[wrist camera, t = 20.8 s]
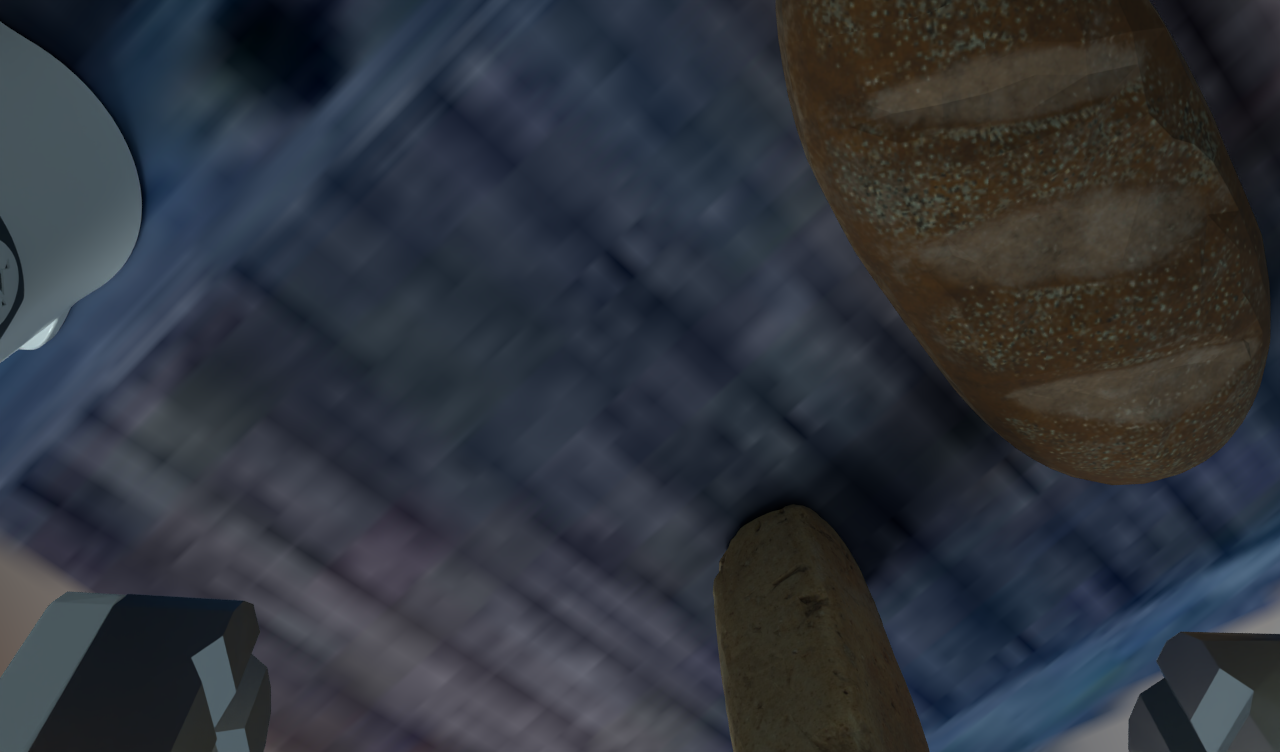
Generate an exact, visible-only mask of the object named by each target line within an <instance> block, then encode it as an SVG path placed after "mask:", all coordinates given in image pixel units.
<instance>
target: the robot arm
mask: <svg viewBox="0 0 1280 752" xmlns="http://www.w3.org/2000/svg"><path fill="white" fill-rule="evenodd" d="M141 215H142V198H141V189H140V183H139V178H138V174H137V170H136V167H135V164H134V161H133V158H132V155H131V153H130V150H129V148H128V146H127V144H126V142H125V139H124V137H123V135H122V134H121V132H120V130H119V128H118V127H117V125H116V123H115V122H114V120H113V119H112V117H111V116H110V114H109V113H108V111H107V110H106V109H105V107H104V106H103V105H102V103H101V102H100V101H99V100H98V98H97V97H96V96H95V95H94V94H93V92H92V91H91V90H90V89H89V88H88V87H87V86H86V85H85V84H84V83H83V82H82V81H81V80H80V79H79V78H78V77H77V76H76V75H75V74H74V73H73V72H72V71H71V70H69V69H68V68H67V67H66V66H65V65H64V64H62V63H61V62H60V61H59V60H57V59H56V58H55V57H53V56H52V55H51V54H49V53H48V52H46V51H45V50H43V49H42V48H41V47H39V46H37V45H36V44H34V43H33V42H31V41H29V40H28V39H26V38H25V37H23V36H21V35H20V34H18V33H16V32H15V31H13V30H12V29H10V28H9V27H7V26H6V25H4V24H3V23H1V22H0V363H1V362H2V361H3V360H5V359H6V358H7V357H9V356H10V355H11V354H12V353H14V352H15V351H16V350H18V349H24V350H33V349H37V348H39V347H41V346H42V345H44V344H45V343H46V342H48V341H49V340H50V339H52V338H53V337H54V336H55V335H56V334H57V332H58V331H59V329H60V328H61V326H62V324H63V322H64V320H65V319H66V317H67V315H68V312H69V310H70V308H71V307H72V306H73V305H74V304H75V303H76V302H77V301H79V300H80V299H82V298H84V297H85V296H87V295H88V294H90V293H91V292H93V291H95V290H96V289H98V288H99V287H101V286H102V285H104V284H105V283H107V282H108V281H109V280H110V279H111V278H112V277H114V275H115V274H116V273H117V272H118V271H119V270H120V269H121V268H122V266H123V265H124V264H125V262H126V261H127V259H128V258H129V256H130V254H131V252H132V250H133V248H134V246H135V243H136V240H137V237H138V233H139V230H140V224H141ZM259 633H260V630H259V626H258V622H257V618H256V614H255V609H254V605H253V604H251V603H248V602H245V601H237V600H220V599H203V598H186V597H169V596H152V595H135V594H127V595H118V594H100V593H83V592H66V593H65V594H63V595H62V596H60V597H59V598H58V599H56V600H55V601H53V602H52V603H51V604H50V605H49V606H48V607H47V609H46V610H45V612H44V613H43V615H42V616H41V618H40V619H39V621H38V622H37V624H36V625H35V627H34V628H33V630H32V631H31V633H30V634H29V636H28V637H27V639H26V640H25V642H24V643H23V645H22V646H21V648H20V649H19V651H18V653H17V654H16V655H15V657H14V658H13V660H12V661H11V663H10V664H9V666H8V667H7V669H6V670H5V672H4V673H3V675H2V676H1V678H0V752H263V751H264V748H265V744H266V738H267V732H268V726H269V720H270V714H271V686H270V681H269V675H268V669H267V667H266V666H265V665H264V664H263V663H262V662H260V661H259V660H258V659H257V658H256V657H255V656H253V655H252V654H251V653H252V651H253V648H254V645H255V643H256V640H257V638H258V635H259ZM1157 663H1158V665H1159V668H1160V670H1161V672H1162V674H1163V676H1164V679H1162V680H1161V681H1159V682H1157V683H1156V684H1154V685H1153V686H1151V687H1150V688H1148V689H1147V690H1145V691H1144V692H1142V693H1141V694H1140V695H1139V697H1138V699H1137V701H1136V704H1135V706H1134V708H1133V711H1132V713H1131V715H1130V718H1129V729H1128V749H1129V752H1280V634H1252V633H1209V632H1180V633H1178V634H1177V635H1175V636H1174V637H1172V638H1171V639H1169V640H1168V641H1167V642H1166V644H1165V645H1164V647H1163V649H1162V651H1161V653H1160V655H1159V657H1158V659H1157Z"/></svg>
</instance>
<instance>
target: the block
mask: <svg viewBox="0 0 1280 752" xmlns="http://www.w3.org/2000/svg"><path fill="white" fill-rule="evenodd" d="M713 595H714V609H715V619H716V629H717V640H718V649H719V658H720V667H721V676H722V683H723V689H724V695H725V702H726V711H727V716H728V722H729V729H730V735H731V741H732V746H733V751H734V752H929V748H928V744H927V741H926V738H925V735H924V732H923V729H922V726H921V723H920V720H919V717H918V715H917V713H916V709H915V706H914V704H913V701H912V698H911V695H910V693H909V690H908V688H907V685H906V682H905V680H904V678H903V675H902V673H901V670H900V668H899V666H898V663H897V661H896V659H895V656H894V654H893V651H892V648H891V645H890V643H889V640H888V637H887V635H886V632H885V630H884V627H883V624H882V620H881V618H880V615H879V613H878V611H877V608H876V605H875V602H874V600H873V598H872V596H871V593H870V591H869V589H868V587H867V584H866V582H865V580H864V577H863V575H862V573H861V571H860V569H859V567H858V565H857V563H856V561H855V559H854V558H853V556H852V554H851V553H850V551H849V549H848V548H847V546H846V545H845V543H844V542H843V541H842V539H841V538H840V537H839V535H838V534H837V533H836V532H835V530H834V529H833V528H832V527H831V526H830V525H829V524H828V523H827V522H826V521H825V520H823V519H822V518H821V517H820V516H819V515H818V514H817V513H816V512H814V511H813V510H811V509H810V508H807V507H805V506H802V505H793V504H792V505H789V506H785V507H784V508H783V509H780V510H776V511H772V512H769V513H767V514H765V515H762V516H760V517H758V518H756V519H754V520H753V521H751V522H749V523H747V524H746V525H744V526H743V527H742V528H740V529H739V531H738V532H737V534H736V536H735V537H734V538H733V539H732V540H731V542H730V544H729V547H728V549H727V551H726V552H725V554H724V555H723V557H722V558H721V560H720V564H719V573H718V575H717V576H716V578H715V580H714V586H713Z"/></svg>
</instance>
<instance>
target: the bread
mask: <svg viewBox="0 0 1280 752" xmlns="http://www.w3.org/2000/svg"><path fill="white" fill-rule="evenodd" d="M776 17H777V28H778V39H779V45H780V52H781V58H782V65H783V71H784V76H785V81H786V86H787V92H788V97H789V101H790V105H791V109H792V112H793V116H794V120H795V124H796V128H797V131H798V134H799V137H800V140H801V143H802V146H803V149H804V152H805V155H806V158H807V160H808V162H809V164H810V166H811V169H812V171H813V173H814V175H815V177H816V179H817V181H818V183H819V185H820V187H821V189H822V191H823V193H824V195H825V197H826V199H827V201H828V202H829V204H830V206H831V208H832V210H833V212H834V214H835V216H836V218H837V220H838V222H839V223H840V225H841V227H842V229H843V231H844V233H845V234H846V236H847V238H848V240H849V242H850V244H851V245H852V247H853V249H854V251H855V252H856V254H857V255H858V257H859V258H860V260H861V261H862V263H863V264H864V266H865V267H866V269H867V270H868V272H869V273H870V275H871V276H872V278H873V279H874V280H875V282H876V283H877V284H878V286H879V287H880V289H881V290H882V291H883V293H884V294H885V295H886V297H887V298H888V299H889V301H890V302H891V304H892V305H893V307H894V308H895V309H896V311H897V312H898V314H899V315H900V317H901V318H902V319H903V321H904V322H905V324H906V325H907V327H908V328H909V329H910V331H911V332H912V333H913V335H914V336H915V337H916V339H917V340H918V341H919V343H920V344H921V346H922V347H923V348H924V350H925V351H926V352H927V354H928V355H929V356H930V358H931V359H932V360H933V362H934V363H935V364H936V366H937V367H938V368H939V369H940V371H941V372H942V374H943V375H944V376H945V378H946V379H947V380H948V382H949V383H950V384H951V386H952V387H953V388H954V389H955V390H956V392H957V393H958V394H959V395H960V396H961V397H962V398H963V400H964V401H965V402H966V403H967V404H968V405H969V406H970V407H971V408H972V409H973V410H974V411H975V412H976V414H977V415H978V416H979V417H980V418H981V419H982V420H983V421H984V422H985V423H987V424H988V425H989V426H990V427H991V428H992V429H993V430H994V431H996V432H997V433H998V434H999V435H1000V436H1001V437H1003V438H1004V439H1005V440H1006V441H1008V442H1009V443H1010V444H1012V445H1013V446H1014V447H1015V448H1017V449H1018V450H1020V451H1021V452H1023V453H1024V454H1026V455H1028V456H1029V457H1031V458H1032V459H1034V460H1036V461H1038V462H1040V463H1041V464H1043V465H1045V466H1047V467H1049V468H1051V469H1053V470H1056V471H1059V472H1061V473H1064V474H1066V475H1069V476H1072V477H1076V478H1081V479H1085V480H1090V481H1095V482H1100V483H1104V484H1109V485H1125V484H1144V483H1148V482H1152V481H1156V480H1160V479H1163V478H1167V477H1170V476H1174V475H1177V474H1180V473H1183V472H1185V471H1187V470H1189V469H1191V468H1193V467H1195V466H1197V465H1199V464H1200V463H1202V462H1204V461H1206V460H1207V459H1208V458H1210V457H1211V456H1212V455H1213V454H1215V453H1216V452H1217V451H1218V450H1220V449H1221V448H1222V447H1223V446H1224V445H1225V444H1226V443H1227V442H1228V440H1229V439H1230V438H1231V437H1232V435H1233V434H1234V433H1235V431H1236V430H1237V429H1238V428H1239V426H1240V425H1241V424H1242V422H1243V420H1244V419H1245V417H1246V415H1247V413H1248V412H1249V410H1250V408H1251V406H1252V404H1253V402H1254V399H1255V397H1256V394H1257V392H1258V389H1259V387H1260V384H1261V380H1262V376H1263V372H1264V368H1265V364H1266V359H1267V354H1268V349H1269V344H1270V288H1269V277H1268V271H1267V264H1266V258H1265V252H1264V245H1263V239H1262V234H1261V232H1260V229H1259V227H1258V224H1257V222H1256V219H1255V217H1254V214H1253V212H1252V209H1251V207H1250V205H1249V202H1248V200H1247V197H1246V195H1245V193H1244V190H1243V188H1242V185H1241V183H1240V181H1239V178H1238V176H1237V174H1236V171H1235V169H1234V167H1233V164H1232V162H1231V160H1230V157H1229V155H1228V153H1227V150H1226V148H1225V146H1224V143H1223V140H1222V138H1221V135H1220V133H1219V130H1218V127H1217V125H1216V122H1215V120H1214V118H1213V116H1212V113H1211V111H1210V109H1209V107H1208V105H1207V103H1206V101H1205V99H1204V97H1203V95H1202V93H1201V91H1200V89H1199V87H1198V85H1197V83H1196V81H1195V79H1194V77H1193V75H1192V73H1191V71H1190V69H1189V67H1188V65H1187V63H1186V62H1185V60H1184V58H1183V56H1182V54H1181V52H1180V50H1179V49H1178V47H1177V45H1176V43H1175V41H1174V39H1173V38H1172V36H1171V34H1170V33H1169V31H1168V29H1167V27H1166V26H1165V24H1164V22H1163V21H1162V19H1161V17H1160V15H1159V14H1158V12H1157V11H1156V9H1155V8H1154V7H1153V5H1152V4H1151V2H1150V1H1149V0H776Z"/></svg>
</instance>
